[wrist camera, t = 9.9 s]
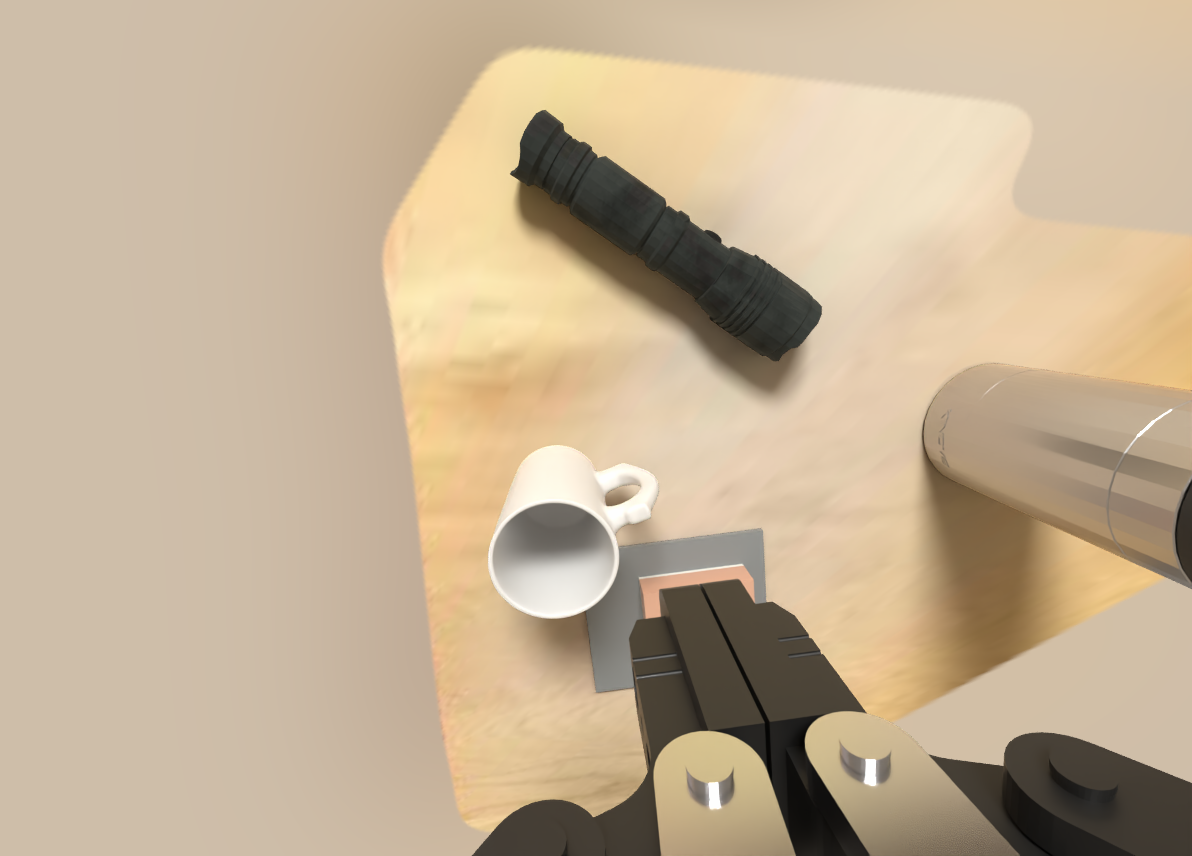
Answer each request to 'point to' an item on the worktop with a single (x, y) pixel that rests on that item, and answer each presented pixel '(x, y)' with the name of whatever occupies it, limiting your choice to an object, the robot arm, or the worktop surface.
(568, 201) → the flashlight
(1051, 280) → the worktop surface
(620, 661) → the mat
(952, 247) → the worktop surface
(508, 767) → the worktop surface
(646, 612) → the tile
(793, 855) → the robot arm
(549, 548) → the mug
